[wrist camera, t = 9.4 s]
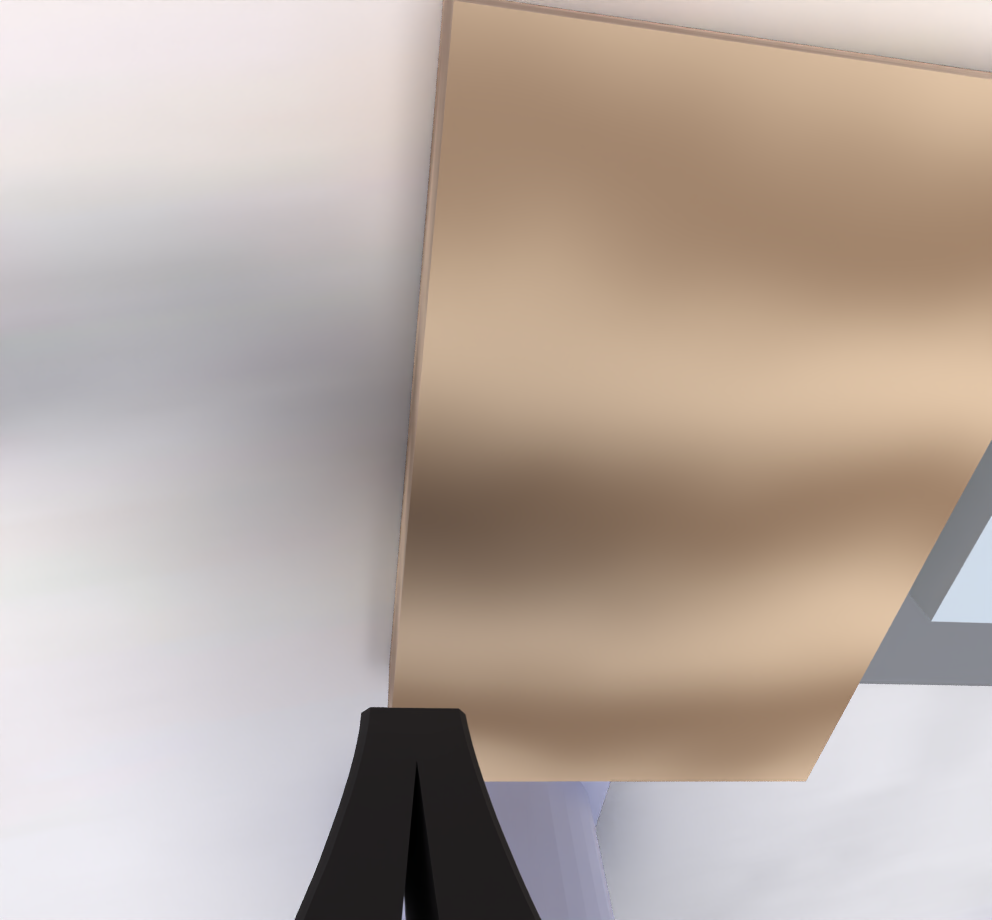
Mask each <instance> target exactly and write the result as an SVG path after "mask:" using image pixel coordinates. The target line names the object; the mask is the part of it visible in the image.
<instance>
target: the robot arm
mask: <svg viewBox="0 0 992 920" xmlns="http://www.w3.org/2000/svg"><path fill="white" fill-rule="evenodd" d="M610 782H611V781H551V782H484V779H483V777H482V773H481V770H480V767H479V764H478V761H477V758H476V754H475V751H474V747H473V744H472V740H471V736H470V732H469V728H468V723H467V718H466V714H465V713H464V712H462V711H461V710H460V709H459V708H387V707H370V708H368V709H367V710H365V711H364V712H362V713H361V721H360V729H359V735H358V740H357V745H356V749H355V754H354V758H353V762H352V766H351V769H350V773H349V776H348V780H347V783H346V786H345V789H344V793H343V796H342V799H341V802H340V805H339V808H338V811H337V814H336V817H335V819H334V822H333V825H332V828H331V830H330V833H329V836H328V839H327V841H326V844H325V847H324V850H323V852H322V855H321V858H320V861H319V863H318V866H317V868H316V871H315V873H314V876H313V878H312V880H311V883H310V885H309V887H308V890H307V892H306V894H305V897H304V899H303V901H302V904H301V906H300V908H299V911H298V913H297V915H296V918H295V920H615V919H614V914H613V910H612V905H611V900H610V896H609V891H608V886H607V881H606V877H605V872H604V867H603V863H602V858H601V853H600V849H599V844H598V839H597V834H596V830H595V827H596V824H597V821H598V818H599V815H600V812H601V809H602V806H603V803H604V800H605V797H606V794H607V791H608V788H609V785H610Z"/></svg>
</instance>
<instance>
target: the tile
mask: <svg viewBox="0 0 992 920" xmlns="http://www.w3.org/2000/svg"><path fill="white" fill-rule="evenodd" d="M908 593H909V594H910V595H911V596H912V598H913V599H914V600H915V602H916V603H917V604H918V605H919V607H920V608H921V609H922V610H923V612H924V613H925V614H926V616H927V617H928V618H929V619H930V621H935V622H970V623H992V440H991V442H990V444H989V445H988V447H987V449H986V451H985V453H984V455H983V456H982V458H981V460H980V462H979V464H978V466H977V467H976V469H975V471H974V473H973V475H972V477H971V479H970V480H969V482H968V484H967V486H966V488H965V490H964V491H963V493H962V495H961V497H960V499H959V501H958V502H957V504H956V506H955V508H954V510H953V512H952V513H951V515H950V517H949V519H948V521H947V523H946V524H945V526H944V528H943V530H942V532H941V534H940V535H939V537H938V539H937V541H936V543H935V545H934V547H933V548H932V550H931V552H930V554H929V556H928V558H927V559H926V561H925V563H924V565H923V567H922V569H921V570H920V572H919V574H918V576H917V578H916V580H915V581H914V583H913V585H912V587H911V589H910V591H909V592H908Z"/></svg>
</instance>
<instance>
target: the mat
mask: <svg viewBox="0 0 992 920" xmlns="http://www.w3.org/2000/svg"><path fill="white" fill-rule="evenodd" d="M860 683H864V684H916V685H968V686H992V623H970V622H935V621H930V619H929V618H928V617H927V616H926V614H925V613H924V612H923V610H922V609H921V608H920V607H919V605H918V604H917V603H916V602H915V600H914V599H913V598H912V596H911V595H910V594H909V593H908V594H907V596H906V598H905V600H904V602H903V603H902V605H901V607H900V609H899V611H898V613H897V615H896V616H895V618H894V620H893V622H892V624H891V626H890V627H889V629H888V631H887V633H886V635H885V637H884V638H883V640H882V642H881V644H880V646H879V648H878V649H877V651H876V653H875V655H874V657H873V659H872V660H871V662H870V664H869V666H868V668H867V670H866V672H865V673H864V675H863V677H862V679H861V681H860Z"/></svg>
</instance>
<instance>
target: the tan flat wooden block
mask: <svg viewBox="0 0 992 920" xmlns="http://www.w3.org/2000/svg"><path fill="white" fill-rule="evenodd" d="M991 440H992V73H991V72H984V71H977V70H970V69H964V68H957V67H950V66H943V65H937V64H930V63H923V62H917V61H910V60H903V59H896V58H890V57H883V56H876V55H869V54H863V53H856V52H849V51H843V50H836V49H829V48H822V47H816V46H809V45H802V44H795V43H789V42H782V41H775V40H769V39H762V38H755V37H748V36H742V35H735V34H728V33H721V32H715V31H708V30H701V29H695V28H688V27H681V26H674V25H668V24H661V23H654V22H647V21H641V20H634V19H627V18H621V17H614V16H607V15H600V14H594V13H587V12H580V11H573V10H567V9H560V8H553V7H547V6H540V5H533V4H526V3H520V2H513V1H506V0H443V9H442V22H441V34H440V46H439V59H438V71H437V83H436V96H435V108H434V120H433V133H432V145H431V157H430V170H429V182H428V194H427V207H426V219H425V231H424V244H423V256H422V268H421V281H420V293H419V305H418V318H417V330H416V343H415V355H414V367H413V380H412V392H411V404H410V417H409V429H408V441H407V454H406V466H405V478H404V491H403V503H402V515H401V528H400V540H399V552H398V565H397V577H396V589H395V602H394V614H393V626H392V639H391V651H390V663H389V690H388V708H459V709H460V710H461V711H462V712H464V713H465V714H466V718H467V723H468V728H469V732H470V736H471V740H472V744H473V747H474V751H475V754H476V758H477V761H478V764H479V767H480V770H481V773H482V777H483V779H484V782H551V781H806V780H807V778H808V776H809V774H810V773H811V771H812V769H813V767H814V765H815V763H816V762H817V760H818V758H819V756H820V754H821V752H822V751H823V749H824V747H825V745H826V743H827V741H828V740H829V738H830V736H831V734H832V732H833V730H834V728H835V727H836V725H837V723H838V721H839V719H840V717H841V716H842V714H843V712H844V710H845V708H846V706H847V705H848V703H849V701H850V699H851V697H852V695H853V694H854V692H855V690H856V688H857V686H858V684H859V683H860V681H861V679H862V677H863V675H864V673H865V672H866V670H867V668H868V666H869V664H870V662H871V660H872V659H873V657H874V655H875V653H876V651H877V649H878V648H879V646H880V644H881V642H882V640H883V638H884V637H885V635H886V633H887V631H888V629H889V627H890V626H891V624H892V622H893V620H894V618H895V616H896V615H897V613H898V611H899V609H900V607H901V605H902V603H903V602H904V600H905V598H906V596H907V594H908V592H909V591H910V589H911V587H912V585H913V583H914V581H915V580H916V578H917V576H918V574H919V572H920V570H921V569H922V567H923V565H924V563H925V561H926V559H927V558H928V556H929V554H930V552H931V550H932V548H933V547H934V545H935V543H936V541H937V539H938V537H939V535H940V534H941V532H942V530H943V528H944V526H945V524H946V523H947V521H948V519H949V517H950V515H951V513H952V512H953V510H954V508H955V506H956V504H957V502H958V501H959V499H960V497H961V495H962V493H963V491H964V490H965V488H966V486H967V484H968V482H969V480H970V479H971V477H972V475H973V473H974V471H975V469H976V467H977V466H978V464H979V462H980V460H981V458H982V456H983V455H984V453H985V451H986V449H987V447H988V445H989V444H990V442H991Z"/></svg>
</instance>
